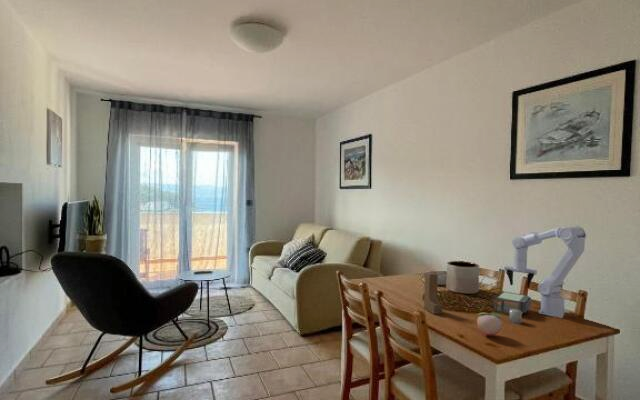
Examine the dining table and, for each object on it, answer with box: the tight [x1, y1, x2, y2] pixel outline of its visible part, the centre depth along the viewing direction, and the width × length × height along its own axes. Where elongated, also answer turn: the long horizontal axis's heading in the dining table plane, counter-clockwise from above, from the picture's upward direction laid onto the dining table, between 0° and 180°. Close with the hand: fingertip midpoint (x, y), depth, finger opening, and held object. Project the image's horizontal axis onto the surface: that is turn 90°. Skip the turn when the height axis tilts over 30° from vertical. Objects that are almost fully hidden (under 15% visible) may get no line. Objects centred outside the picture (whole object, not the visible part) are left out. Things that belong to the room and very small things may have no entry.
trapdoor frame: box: [493, 290, 528, 316], centre depth 172 cm, size 11×15×7 cm
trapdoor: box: [497, 291, 532, 313], centre depth 171 cm, size 12×12×5 cm
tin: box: [430, 270, 447, 286], centre depth 219 cm, size 15×3×8 cm, turn 84°
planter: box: [445, 260, 480, 295], centre depth 207 cm, size 18×18×16 cm
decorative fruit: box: [476, 310, 504, 337], centre depth 141 cm, size 9×8×10 cm
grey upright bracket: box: [423, 271, 443, 315], centre depth 170 cm, size 9×4×18 cm, turn 14°
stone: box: [508, 309, 523, 325], centre depth 158 cm, size 5×5×5 cm
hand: (519, 286), depth 182 cm, fingers open, 7 cm apart
